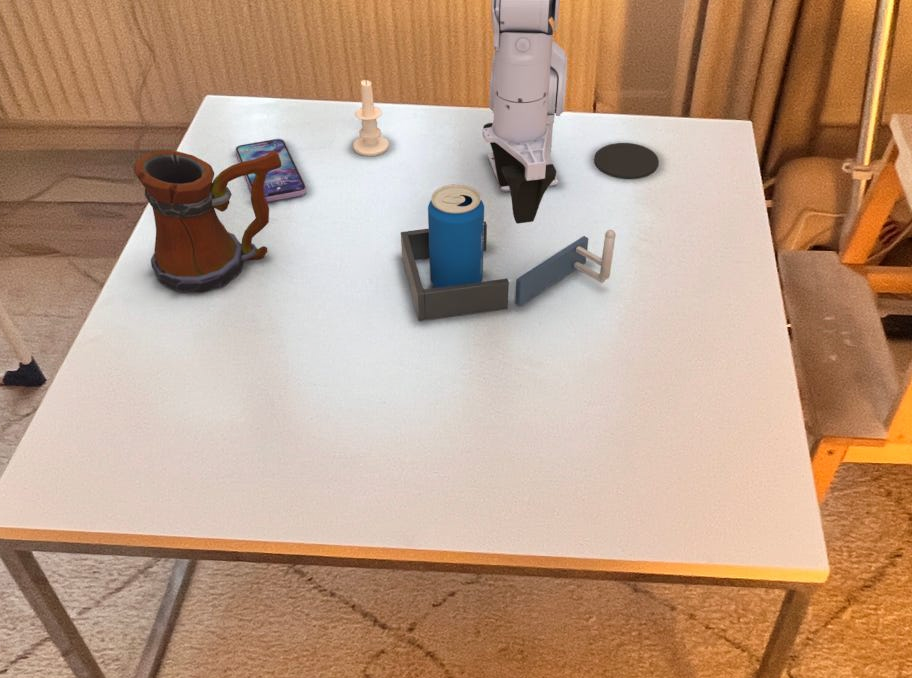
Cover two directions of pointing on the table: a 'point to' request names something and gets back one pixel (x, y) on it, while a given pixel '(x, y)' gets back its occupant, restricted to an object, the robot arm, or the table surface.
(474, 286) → the dark grey u-shaped piece
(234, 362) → the table surface
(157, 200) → the mug
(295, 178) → the smartphone
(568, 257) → the cooler door
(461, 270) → the beverage can
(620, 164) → the coaster
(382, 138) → the candle
